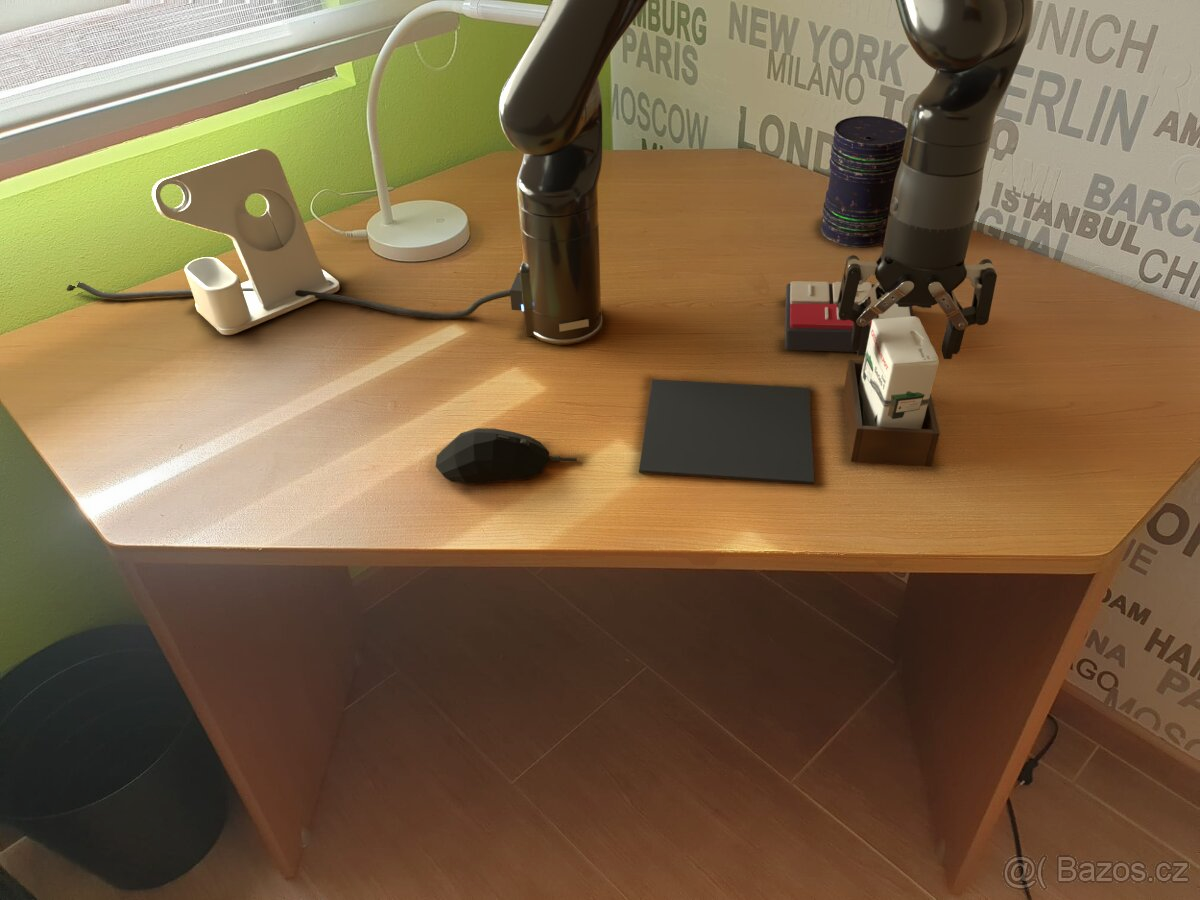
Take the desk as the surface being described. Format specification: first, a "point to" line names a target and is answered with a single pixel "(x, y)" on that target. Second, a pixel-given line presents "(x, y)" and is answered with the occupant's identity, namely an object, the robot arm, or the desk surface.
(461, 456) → the gaming mouse
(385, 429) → the desk surface
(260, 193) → the phone holder
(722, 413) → the mat
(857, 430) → the box
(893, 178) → the navy blue cylinder
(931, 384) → the ink box
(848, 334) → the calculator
